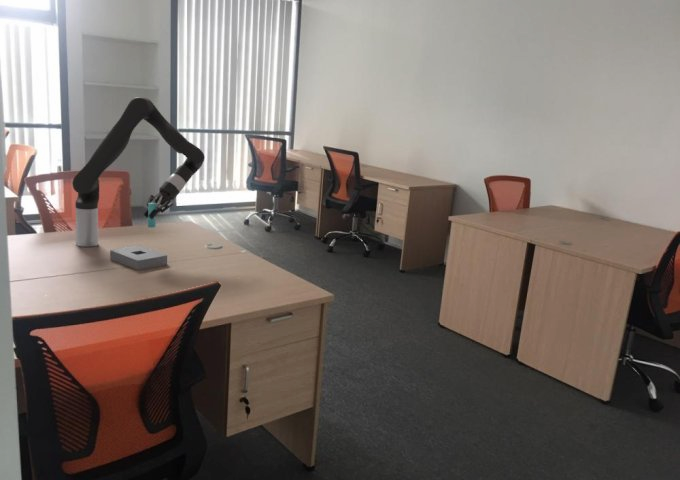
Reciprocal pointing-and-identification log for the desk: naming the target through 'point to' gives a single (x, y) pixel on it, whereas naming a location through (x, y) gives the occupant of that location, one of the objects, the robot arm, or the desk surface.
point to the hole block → (138, 257)
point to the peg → (150, 207)
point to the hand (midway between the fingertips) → (147, 216)
